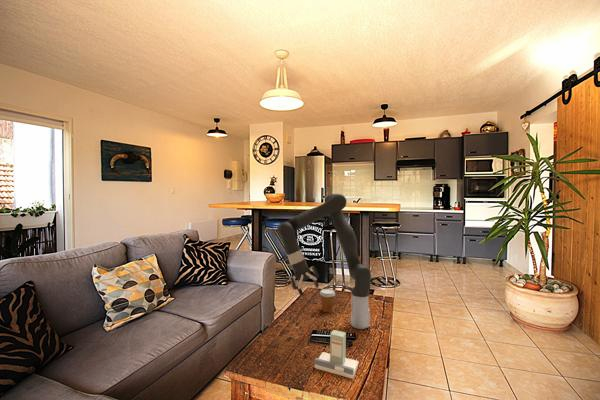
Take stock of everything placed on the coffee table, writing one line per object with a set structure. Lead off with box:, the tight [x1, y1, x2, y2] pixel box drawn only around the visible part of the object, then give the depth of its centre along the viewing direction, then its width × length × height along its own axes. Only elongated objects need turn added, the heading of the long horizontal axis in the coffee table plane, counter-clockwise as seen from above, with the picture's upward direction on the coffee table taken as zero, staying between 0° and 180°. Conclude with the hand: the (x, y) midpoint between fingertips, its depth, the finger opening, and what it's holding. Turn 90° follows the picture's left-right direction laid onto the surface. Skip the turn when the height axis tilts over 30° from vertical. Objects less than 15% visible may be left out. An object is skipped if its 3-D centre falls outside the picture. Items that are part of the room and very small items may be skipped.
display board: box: [314, 351, 359, 380], centre depth 116 cm, size 10×16×4 cm, turn 66°
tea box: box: [329, 329, 347, 365], centre depth 116 cm, size 4×6×12 cm
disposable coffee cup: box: [319, 288, 336, 313], centre depth 172 cm, size 10×10×12 cm
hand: (310, 291), depth 135 cm, fingers open, 8 cm apart
